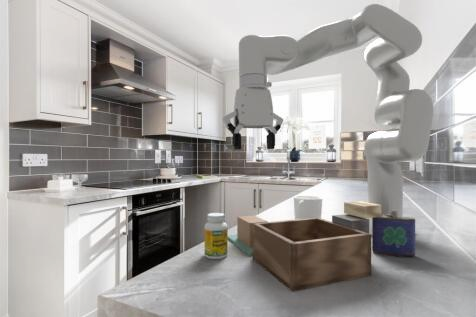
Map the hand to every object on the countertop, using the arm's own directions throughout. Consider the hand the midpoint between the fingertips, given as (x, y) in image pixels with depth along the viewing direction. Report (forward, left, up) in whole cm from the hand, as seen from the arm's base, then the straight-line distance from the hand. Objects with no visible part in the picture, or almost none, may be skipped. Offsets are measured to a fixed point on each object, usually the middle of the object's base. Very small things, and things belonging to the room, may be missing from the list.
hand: (254, 149), depth 72 cm
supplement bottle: (+12, +5, -25) cm, 28 cm away
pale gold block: (-19, +18, -15) cm, 30 cm away
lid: (-4, 0, -26) cm, 26 cm away
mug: (-22, -7, -25) cm, 34 cm away
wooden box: (-6, +18, -25) cm, 31 cm away
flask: (-28, +19, -25) cm, 42 cm away
